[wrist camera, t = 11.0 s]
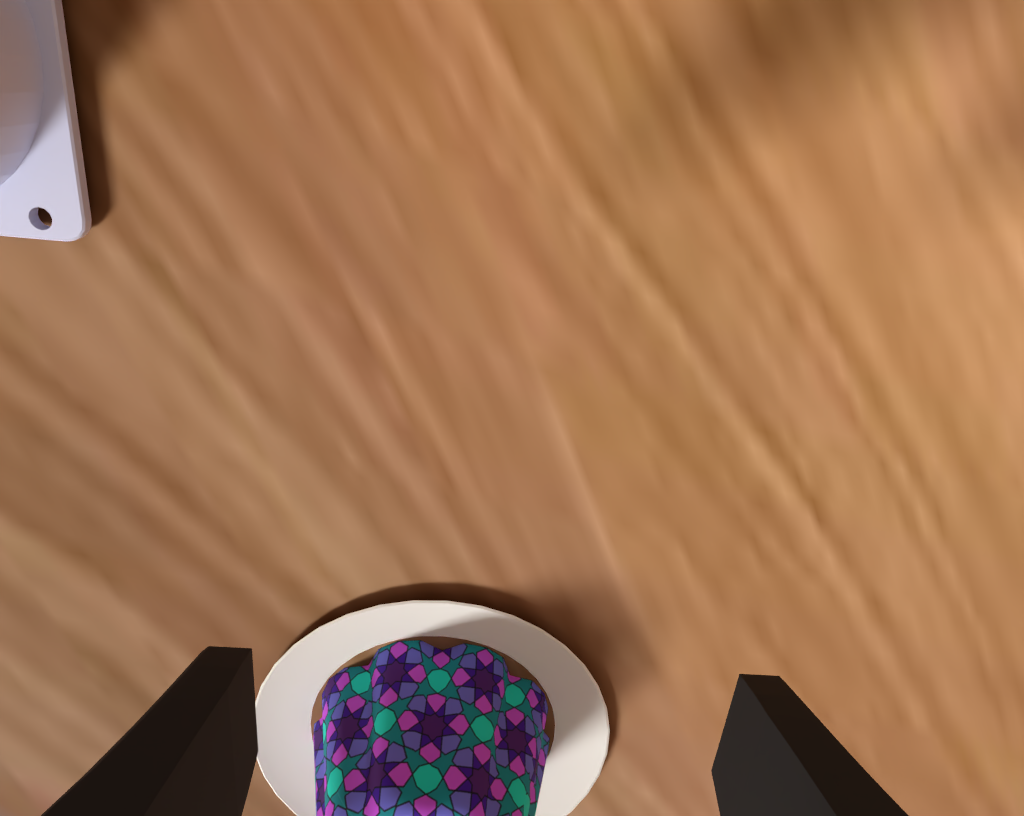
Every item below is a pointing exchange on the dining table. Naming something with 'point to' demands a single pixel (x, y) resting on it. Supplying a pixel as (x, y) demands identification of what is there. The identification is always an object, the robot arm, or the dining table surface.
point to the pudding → (430, 718)
